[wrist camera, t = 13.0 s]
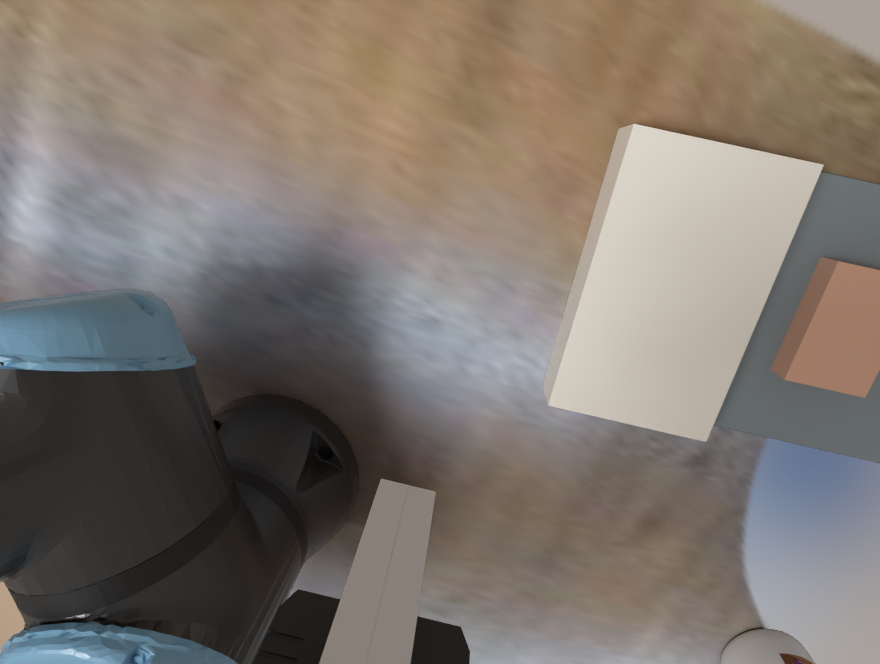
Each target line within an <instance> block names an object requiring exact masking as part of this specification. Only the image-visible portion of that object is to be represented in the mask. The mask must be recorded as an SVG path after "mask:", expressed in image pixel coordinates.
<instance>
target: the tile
mask: <svg viewBox="0 0 880 664" xmlns="http://www.w3.org/2000/svg"><path fill="white" fill-rule="evenodd" d="M770 370H771V371H773V372H774V373H776V374H777V375H778V376H780V377H781V378H783V379H784V380H788V381H793V382H797V383H801V384H806V385H810V386H815V387H819V388H823V389H828V390H832V391H837V392H841V393H846V394H850V395H854V396H859V397H863V398H865V397H866V395H867V394H868V392H869V390H870V388H871V386H872V384H873V382H874V380H875V378H876V376H877V374H878V372H879V370H880V270H879V269H875V268H870V267H866V266H861V265H856V264H852V263H847V262H843V261H838V260H834V259H829V258H825V257H820V259H819V262H818V264H817V266H816V268H815V271H814V273H813V275H812V277H811V280H810V282H809V284H808V286H807V288H806V291H805V293H804V295H803V297H802V300H801V302H800V304H799V306H798V309H797V311H796V313H795V315H794V318H793V320H792V322H791V324H790V327H789V329H788V331H787V333H786V335H785V338H784V340H783V342H782V344H781V347H780V349H779V351H778V353H777V356H776V358H775V360H774V362H773V365H772V367H771V369H770Z"/></svg>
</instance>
